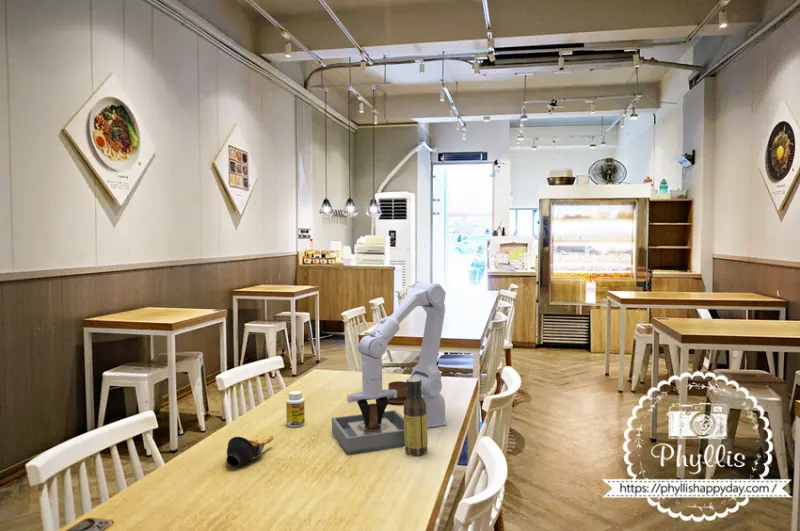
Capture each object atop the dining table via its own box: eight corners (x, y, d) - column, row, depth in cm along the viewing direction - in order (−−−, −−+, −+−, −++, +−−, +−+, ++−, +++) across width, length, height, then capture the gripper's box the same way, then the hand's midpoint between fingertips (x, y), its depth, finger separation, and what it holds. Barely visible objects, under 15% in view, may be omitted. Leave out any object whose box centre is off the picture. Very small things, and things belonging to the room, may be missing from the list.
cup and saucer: (421, 399, 193) (421, 382, 193) (404, 408, 183) (403, 390, 183) (393, 394, 200) (393, 378, 199) (375, 402, 189) (375, 385, 189)
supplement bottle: (290, 429, 163) (290, 396, 162) (283, 424, 167) (283, 391, 167) (307, 425, 166) (307, 393, 165) (300, 420, 170) (300, 389, 170)
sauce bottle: (420, 445, 149) (420, 375, 148) (431, 453, 143) (431, 380, 142) (400, 449, 146) (399, 377, 145) (410, 458, 140) (409, 383, 139)
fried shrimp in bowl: (212, 453, 134) (242, 415, 148) (232, 482, 136) (260, 442, 150) (236, 446, 131) (264, 407, 145) (256, 475, 134) (282, 435, 148)
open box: (394, 424, 166) (394, 410, 166) (416, 444, 149) (416, 428, 149) (331, 432, 159) (331, 417, 159) (347, 455, 143) (346, 438, 142)
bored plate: (385, 425, 162) (385, 417, 162) (399, 439, 151) (399, 430, 151) (347, 430, 158) (347, 422, 158) (358, 445, 147) (358, 436, 147)
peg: (376, 429, 156) (376, 403, 156) (379, 433, 153) (379, 406, 153) (365, 431, 155) (365, 404, 155) (369, 435, 152) (368, 407, 152)
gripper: (391, 372, 160) (391, 416, 160) (344, 376, 155) (344, 422, 156) (399, 377, 153) (399, 424, 154) (350, 382, 148) (351, 430, 149)
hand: (372, 424), depth 154 cm, fingers closed on peg, 3 cm apart
